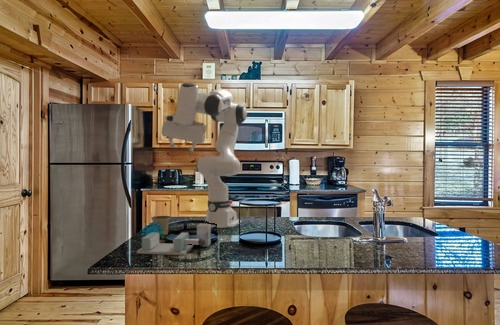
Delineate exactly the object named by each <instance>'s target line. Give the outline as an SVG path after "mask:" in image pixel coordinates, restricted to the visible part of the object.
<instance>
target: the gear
mask: <svg viewBox="0 0 500 325" xmlns="http://www.w3.org/2000/svg"><path fill="white" fill-rule="evenodd" d="M148 224H149V227H148ZM148 224H145V225H144V228H142V229H141V233H140V235H141V237H145V236H146V235H148V234H150V233H151V232H158V234H159V239H160V238H161V239H164V236H166V235H165V232H164V231H163V232H160V231H158V230H161V231H162V230H163V227H161V225H160V224H159V225H157V223H156V222H155V223H154V225H153V222H149V223H148ZM155 225H157V226H155ZM157 227H161V228H157Z"/></svg>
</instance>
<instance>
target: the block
mask: <svg viewBox="0 0 500 325" xmlns="http://www.w3.org/2000/svg"><path fill="white" fill-rule="evenodd" d="M211 229H212V227H211V224H205V223H199V224H197V225H196V239H200V238H204V239H205V241H206V243H205V245H203V246H202V247H204V248H207V247H210V245H211V244H212V240H211V238H212V237H211V233H212V230H211ZM202 247H201V248H202Z"/></svg>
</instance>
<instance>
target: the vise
mask: <svg viewBox="0 0 500 325" xmlns="http://www.w3.org/2000/svg"><path fill="white" fill-rule="evenodd" d="M144 236H145V237H144ZM144 236H142V238H141V247H140V248H139V249H137V250H136V254H140V255H141V254H142V255H169V256H186V255H187V254H188V253H189V252H190V251H191V250H192V249H193V247H194V245H187V246H186V247H185V248H184V249H183V250H182V251H174V249H173V243H164V242H163V243H162V242H160V238H159V234H158V232H151V233H150V234H148V235H144Z"/></svg>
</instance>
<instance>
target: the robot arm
mask: <svg viewBox="0 0 500 325" xmlns="http://www.w3.org/2000/svg"><path fill="white" fill-rule="evenodd" d="M233 100H234V98H233V95H232V93H231V92H229V91H228V90H225V89H222V88H221V89H220V88H218V89H213V90H211V91H210V92H207V93H206V92H200V91H199V86H198V84H196V83H192V82H184V83H181V84H180V86H179V90H178V94H177V100H176V101H177V102H176V103H177V107H176V110H175V113H174V114H170V115H169V114H168V115H165V116H164V121H163V123H162V126H161V135H162V136H163V137H167V138H168V142H169V147H170V148H175V144H176V143H174V139H177V140H182V141H186V142H191V144H192V145H191V146H190V147H189V148H188V151H189V152H194V150H195V149H194V148H196V146H197V144H204V142H205V139H206V131H207V126H206V124H205V123H203V122H200V121H196V115H197V113H198V114H202V115H208V116H210V117H211V118H210V119H211V120H212V121H214V122H217V123H219V122H221V123H223V124H222V126H221V128H220V130H219V133H218V135H217V139H216V141H215V144H214V146H215V150H216V151H217V152H218V153H219V155H217V156H216V155H211V156H210V155H209V156H203V157H200V158H199V159H198V161H197V164H196V168H197V171H198V173H199V174H200V175H202V177H203V178H204V179H205V181H206V184H207V188H208V190H207V191H208V200H207V210H206V217H205V222H206V221H207V222H209V223H215V224H217V228H216V229H221V228H223V229H225V228H233V227H235V226H237V225H239V224H240V223H242V220H240V219H238V212H237V211H235V209H233V208H232V207H231V205H232V204H233V200H232V199H231V200H230V199H229V186H228V185H227V184H226V183H225V182H223V181H222V179H221V177H230V176H236V175H238V173H239V172H240V170H241V163H240V162H241V161H240V160H239V158H237V157H236V155H235V148H236V143H237V140H238V136H239V135H238V134H239V126H241V125H242V124H243V123H244V122H245V121H246V119H247V116H248V110H247V107H246V105H245V104H242V103H233ZM239 220H240V223H239ZM206 224H207V223H206ZM213 227H215V225H211V229H212V228H213Z"/></svg>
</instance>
